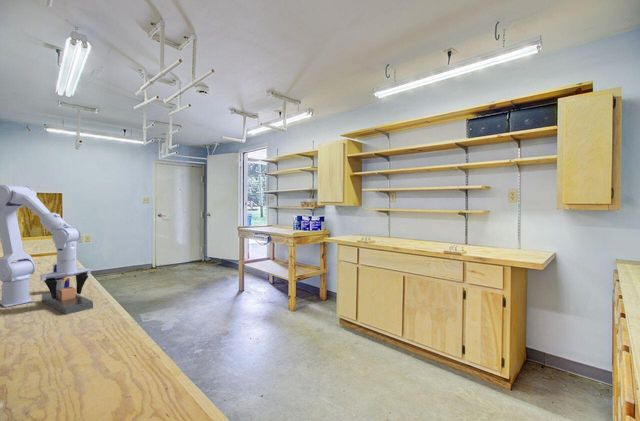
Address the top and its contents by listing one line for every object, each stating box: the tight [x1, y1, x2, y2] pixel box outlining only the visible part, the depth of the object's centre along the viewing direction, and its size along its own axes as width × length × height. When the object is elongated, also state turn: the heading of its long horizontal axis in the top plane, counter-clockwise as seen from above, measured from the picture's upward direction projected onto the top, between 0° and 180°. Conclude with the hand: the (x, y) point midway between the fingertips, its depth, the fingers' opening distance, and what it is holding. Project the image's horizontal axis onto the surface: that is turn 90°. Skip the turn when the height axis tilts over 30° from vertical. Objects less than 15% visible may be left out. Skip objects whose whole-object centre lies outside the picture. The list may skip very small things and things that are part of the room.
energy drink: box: [52, 262, 70, 292], centre depth 131 cm, size 5×5×12 cm
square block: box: [58, 286, 77, 301], centre depth 114 cm, size 4×4×6 cm
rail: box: [41, 292, 94, 315], centre depth 114 cm, size 24×8×2 cm, turn 57°
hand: (66, 295), depth 114 cm, fingers open, 7 cm apart
